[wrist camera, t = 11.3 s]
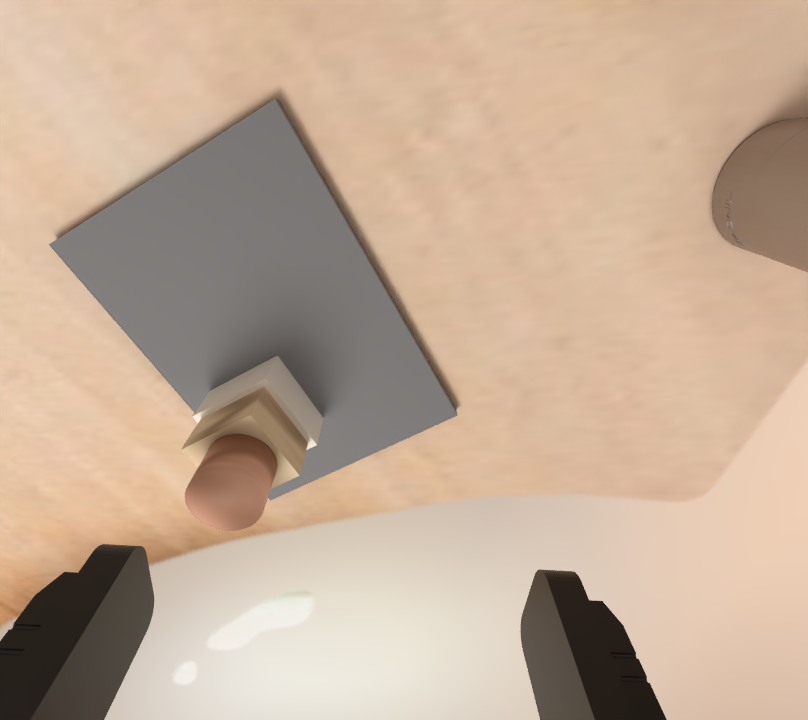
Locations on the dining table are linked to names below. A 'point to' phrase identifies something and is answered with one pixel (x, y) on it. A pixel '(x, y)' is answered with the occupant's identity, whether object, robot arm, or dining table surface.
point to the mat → (260, 290)
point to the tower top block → (252, 432)
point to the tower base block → (281, 390)
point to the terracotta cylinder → (232, 483)
